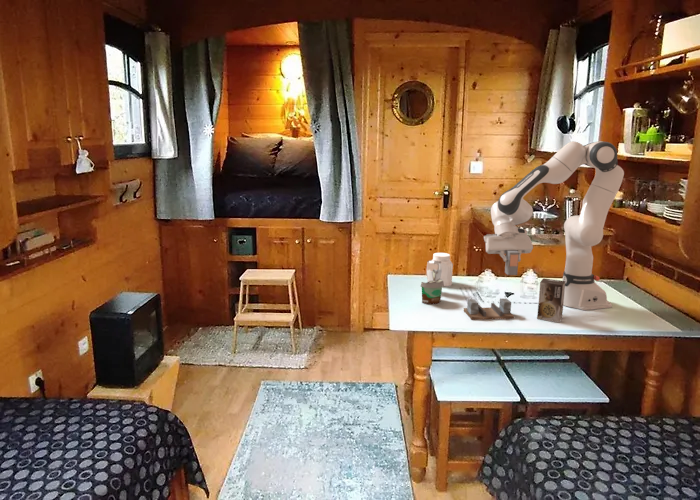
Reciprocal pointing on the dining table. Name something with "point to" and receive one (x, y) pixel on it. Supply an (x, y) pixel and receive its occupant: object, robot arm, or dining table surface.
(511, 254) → the grey orange block
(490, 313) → the rail board
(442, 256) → the jar
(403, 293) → the dining table surface
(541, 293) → the coffee box
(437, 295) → the food container
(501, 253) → the robot arm
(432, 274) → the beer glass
